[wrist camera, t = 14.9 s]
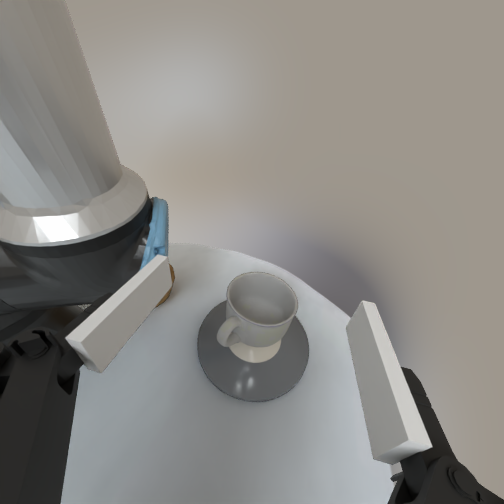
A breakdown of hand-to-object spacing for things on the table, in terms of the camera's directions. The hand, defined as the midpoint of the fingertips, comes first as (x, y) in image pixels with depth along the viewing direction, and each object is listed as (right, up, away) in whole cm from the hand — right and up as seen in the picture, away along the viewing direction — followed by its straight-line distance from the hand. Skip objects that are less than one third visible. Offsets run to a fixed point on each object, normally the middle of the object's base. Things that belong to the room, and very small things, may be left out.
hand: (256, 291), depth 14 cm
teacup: (-1, -11, +19) cm, 22 cm away
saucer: (0, -12, +20) cm, 23 cm away
